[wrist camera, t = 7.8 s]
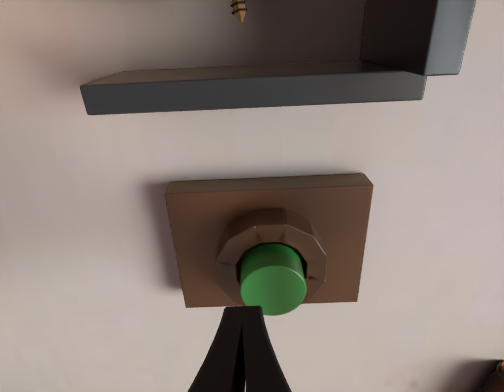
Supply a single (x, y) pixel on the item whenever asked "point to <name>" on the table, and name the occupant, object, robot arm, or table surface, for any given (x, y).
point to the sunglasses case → (495, 380)
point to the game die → (239, 9)
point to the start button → (272, 279)
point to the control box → (269, 232)
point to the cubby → (309, 68)
